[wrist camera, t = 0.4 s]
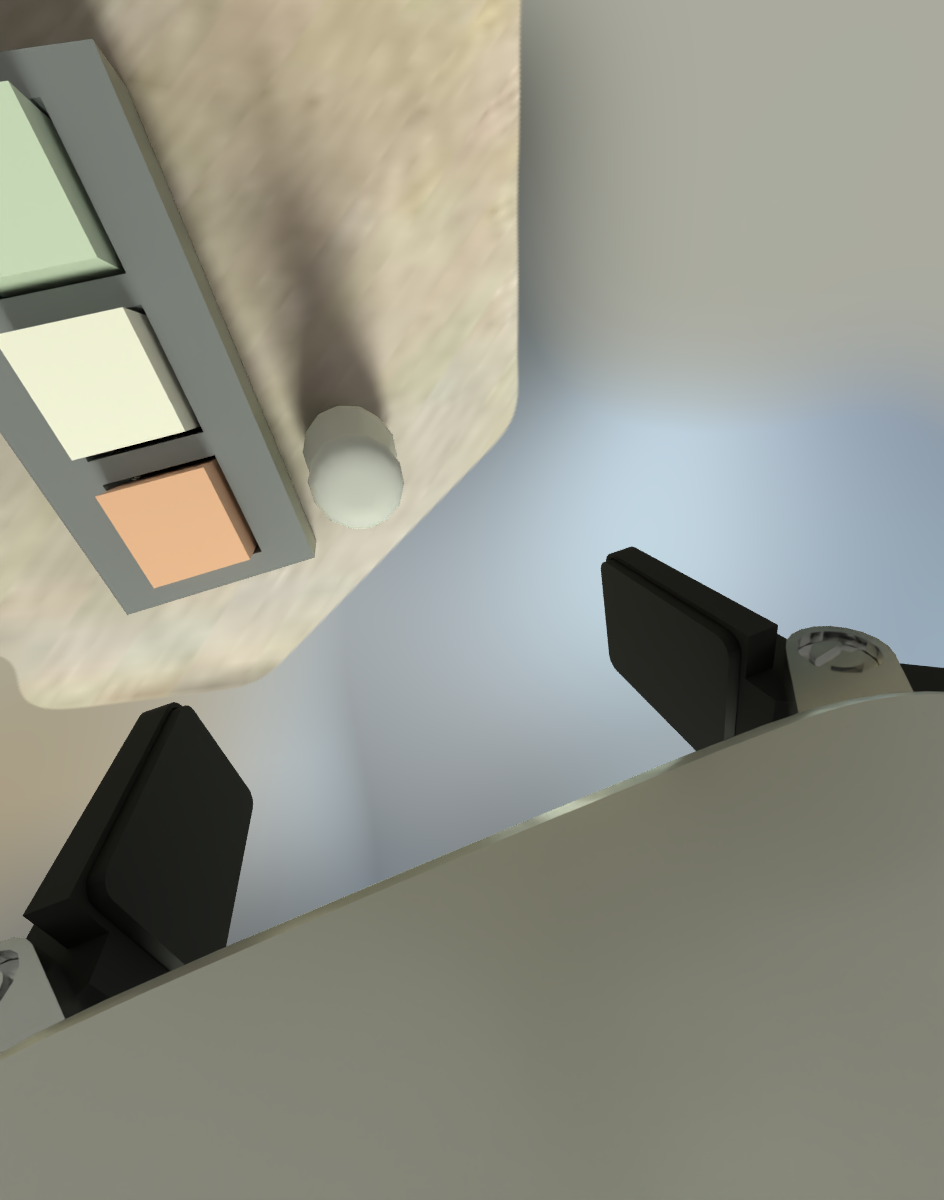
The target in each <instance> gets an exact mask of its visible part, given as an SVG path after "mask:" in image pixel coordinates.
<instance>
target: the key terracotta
mask: <svg viewBox="0 0 944 1200" xmlns="http://www.w3.org/2000/svg"><path fill="white" fill-rule="evenodd" d="M95 497H96V499H97V501H98V502H99V504H100V505H101V507H102V508H103V510H104V511H105V513H106V515H107V516H108V518H109V519H110V521H111V522H112V524H113V525H114V527H115V529H116V530H117V532H118V533H119V535H120V536H121V538H122V539H123V541H124V543H125V544H126V546H127V547H128V549H129V550H130V552H131V554H132V555H133V557H134V558H135V560H136V561H137V563H138V564H139V566H140V568H141V569H142V571H143V572H144V574H145V575H146V577H147V578H148V580H149V582H150V583H151V585H152V586H153V588H157V587H160V586H164V585H167V584H170V583H174V582H177V581H180V580H184V579H187V578H190V577H194V576H197V575H200V574H204V573H207V572H210V571H214V570H217V569H220V568H223V567H227V566H230V565H233V564H237V563H240V562H243V561H247V560H250V559H251V556H252V554H253V552H254V550H255V548H256V546H257V544H258V543H257V541H256V539H255V537H254V535H253V533H252V531H251V528H250V526H249V524H248V522H247V520H246V518H245V516H244V514H243V512H242V510H241V508H240V506H239V504H238V502H237V500H236V498H235V496H234V494H233V491H232V489H231V487H230V485H229V483H228V481H227V479H226V477H225V475H224V473H223V471H222V469H221V467H220V465H219V463H218V461H217V459H216V458H215V459H211V460H208V461H204V462H200V463H196V464H193V465H189V466H185V467H181V468H178V469H174V470H170V471H167V472H163V473H159V474H155V475H152V476H148V477H144V478H140V479H137V480H133V481H129V482H126V483H122V484H120V485H118V486H116V487H114V488H112V489H110V490H108V491H106V492H104V493H102V494H100V495H97V496H95Z"/></svg>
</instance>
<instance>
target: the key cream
mask: <svg viewBox="0 0 944 1200" xmlns="http://www.w3.org/2000/svg"><path fill="white" fill-rule="evenodd" d="M0 349H1V351H2V352H3V354H4V355H5V357H6V359H7V360H8V362H9V363H10V365H11V366H12V368H13V370H14V371H15V373H16V374H17V376H18V377H19V379H20V380H21V382H22V384H23V385H24V387H25V388H26V390H27V391H28V393H29V394H30V396H31V398H32V399H33V401H34V402H35V404H36V405H37V407H38V409H39V410H40V412H41V413H42V415H43V416H44V418H45V419H46V421H47V423H48V424H49V426H50V427H51V429H52V430H53V432H54V433H55V435H56V437H57V438H58V440H59V441H60V443H61V444H62V446H63V447H64V449H65V451H66V452H67V454H68V455H69V457H70V458H71V460H72V461H73V460H76V459H80V458H84V457H88V456H92V455H96V454H100V453H104V452H107V451H111V450H115V449H119V448H123V447H127V446H131V445H135V444H138V443H142V442H146V441H150V440H154V439H158V438H162V437H165V436H169V435H173V434H177V433H181V432H185V431H188V430H191V429H194V428H197V427H200V424H199V422H198V420H197V418H196V416H195V413H194V411H193V409H192V407H191V405H190V403H189V401H188V399H187V397H186V395H185V393H184V391H183V389H182V387H181V385H180V383H179V381H178V379H177V376H176V374H175V372H174V370H173V368H172V366H171V364H170V362H169V360H168V358H167V356H166V354H165V352H164V350H163V348H162V346H161V344H160V342H159V340H158V337H157V335H156V333H155V331H154V329H153V327H152V325H151V323H150V321H149V319H148V317H147V316H146V315H144V314H141V313H138V312H135V311H132V310H129V309H126V308H124V307H121V308H116V309H112V310H107V311H102V312H98V313H93V314H89V315H84V316H79V317H75V318H70V319H66V320H61V321H56V322H52V323H47V324H43V325H38V326H34V327H29V328H24V329H20V330H15V331H11V332H6V333H1V334H0Z"/></svg>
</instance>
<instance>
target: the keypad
mask: <svg viewBox="0 0 944 1200" xmlns="http://www.w3.org/2000/svg"><path fill="white" fill-rule="evenodd" d="M2 81H9V82H10V83H11V84H12V85H13V86H14V87H15V88H17V89H18V90H19V91H20V92H21V93H22V94H23V95H24V96H25V97H26V98H27V99H28V100H30V101H31V102H32V103H33V104H34V105H35V106H36V107H37V108H38V109H39V110H40V111H41V112H43V113H44V114H45V115H46V116H47V117H48V118H49V119H50V120H51V121H52V122H53V124H54V126H55V128H56V130H57V132H58V134H59V136H60V138H61V140H62V142H63V144H64V146H65V148H66V151H67V153H68V155H69V157H70V159H71V161H72V163H73V165H74V167H75V169H76V171H77V173H78V175H79V177H80V179H81V181H82V183H83V185H84V188H85V190H86V192H87V194H88V196H89V198H90V200H91V202H92V204H93V206H94V208H95V210H96V212H97V214H98V216H99V218H100V220H101V222H102V224H103V227H104V229H105V231H106V233H107V235H108V237H109V239H110V241H111V243H112V245H113V247H114V249H115V251H116V253H117V255H118V257H119V259H120V261H121V264H122V266H123V268H124V270H125V272H126V274H121V275H116V276H111V277H106V278H102V279H97V280H92V281H87V282H82V283H78V284H73V285H68V286H63V287H58V288H54V289H49V290H44V291H39V292H34V293H30V294H25V295H20V296H15V297H10V298H7V297H3V296H0V334H1V333H6V332H11V331H15V330H20V329H24V328H29V327H34V326H38V325H43V324H47V323H52V322H56V321H61V320H66V319H70V318H75V317H79V316H84V315H89V314H93V313H98V312H102V311H107V310H112V309H116V308H121V307H124V308H126V309H129V310H132V311H135V312H138V313H141V314H144V315H146V316H147V317H148V319H149V321H150V323H151V325H152V327H153V329H154V331H155V333H156V335H157V337H158V340H159V342H160V344H161V346H162V348H163V350H164V352H165V354H166V356H167V358H168V360H169V362H170V364H171V366H172V368H173V370H174V372H175V374H176V376H177V379H178V381H179V383H180V385H181V387H182V389H183V391H184V393H185V395H186V397H187V399H188V401H189V403H190V405H191V407H192V409H193V411H194V413H195V416H196V418H197V420H198V422H199V424H200V426H201V428H202V431H198V432H195V433H191V434H187V435H183V436H179V437H175V438H171V439H168V440H164V441H160V442H156V443H152V444H148V445H144V446H141V447H137V448H133V449H129V450H125V451H121V452H117V453H115V451H114V450H111V451H107V452H104V453H100V454H96V455H92V456H88V457H84V458H80V459H76V460H73V461H72V460H71V458H70V457H69V455H68V454H67V452H66V451H65V449H64V447H63V446H62V444H61V443H60V441H59V440H58V438H57V437H56V435H55V433H54V432H53V430H52V429H51V427H50V426H49V424H48V423H47V421H46V419H45V418H44V416H43V415H42V413H41V412H40V410H39V409H38V407H37V405H36V404H35V402H34V401H33V399H32V398H31V396H30V394H29V393H28V391H27V390H26V388H25V387H24V385H23V384H22V382H21V380H20V379H19V377H18V376H17V374H16V373H15V371H14V370H13V368H12V366H11V365H10V363H9V362H8V360H7V359H6V357H5V355H4V354H3V352H2V351H1V349H0V433H1V434H2V436H3V437H4V438H5V440H6V441H7V443H8V444H9V446H10V447H11V449H12V450H13V451H14V453H15V454H16V456H17V457H18V459H19V460H20V461H21V463H22V464H23V466H24V467H25V469H26V470H27V471H28V473H29V474H30V476H31V477H32V479H33V480H34V482H35V483H36V484H37V486H38V487H39V489H40V490H41V492H42V493H43V494H44V496H45V497H46V499H47V500H48V502H49V503H50V505H51V506H52V507H53V509H54V510H55V512H56V513H57V515H58V516H59V517H60V519H61V520H62V522H63V523H64V525H65V526H66V527H67V529H68V530H69V532H70V533H71V535H72V536H73V538H74V539H75V540H76V542H77V543H78V545H79V546H80V548H81V549H82V550H83V552H84V553H85V555H86V556H87V558H88V559H89V561H90V562H91V563H92V565H93V566H94V568H95V569H96V571H97V572H98V573H99V575H100V576H101V578H102V579H103V581H104V582H105V583H106V585H107V586H108V588H109V589H110V591H111V592H112V594H113V595H114V596H115V598H116V599H117V601H118V602H119V604H120V605H121V606H122V608H123V609H124V611H125V612H126V614H127V615H128V614H132V613H135V612H138V611H142V610H145V609H148V608H151V607H155V606H158V605H161V604H164V603H168V602H171V601H174V600H177V599H181V598H184V597H187V596H190V595H194V594H197V593H200V592H203V591H207V590H210V589H213V588H217V587H220V586H223V585H226V584H230V583H233V582H236V581H239V580H243V579H246V578H249V577H252V576H256V575H259V574H262V573H265V572H269V571H272V570H275V569H278V568H282V567H285V566H288V565H292V564H295V563H298V562H301V561H305V560H308V559H311V558H314V557H315V548H316V539H315V537H314V534H313V532H312V530H311V527H310V525H309V522H308V520H307V518H306V515H305V513H304V511H303V508H302V506H301V503H300V501H299V499H298V496H297V494H296V491H295V489H294V487H293V484H292V482H291V479H290V477H289V475H288V472H287V470H286V467H285V465H284V463H283V460H282V458H281V455H280V453H279V451H278V448H277V446H276V443H275V441H274V439H273V436H272V434H271V432H270V429H269V427H268V424H267V422H266V420H265V417H264V415H263V412H262V410H261V408H260V405H259V403H258V400H257V398H256V396H255V393H254V391H253V388H252V386H251V384H250V381H249V379H248V376H247V374H246V372H245V369H244V367H243V364H242V362H241V360H240V357H239V355H238V353H237V350H236V348H235V345H234V343H233V341H232V338H231V336H230V333H229V331H228V329H227V326H226V324H225V321H224V319H223V317H222V314H221V312H220V309H219V307H218V305H217V302H216V300H215V297H214V295H213V293H212V290H211V288H210V285H209V283H208V281H207V278H206V276H205V274H204V271H203V269H202V266H201V264H200V262H199V259H198V257H197V254H196V252H195V250H194V247H193V245H192V242H191V240H190V238H189V235H188V233H187V230H186V228H185V226H184V223H183V221H182V218H181V216H180V214H179V211H178V209H177V206H176V204H175V202H174V199H173V197H172V195H171V192H170V190H169V187H168V185H167V183H166V180H165V178H164V175H163V173H162V171H161V168H160V166H159V163H158V161H157V159H156V156H155V154H154V151H153V149H152V147H151V144H150V142H149V139H148V137H147V135H146V132H145V130H144V127H143V125H142V123H141V120H140V118H139V116H138V113H137V111H136V108H135V106H134V104H133V101H132V99H131V96H130V94H129V92H128V89H127V87H126V86H125V84H124V83H123V81H122V80H121V79H120V77H119V76H118V74H117V73H116V72H115V70H114V69H113V67H112V66H111V64H110V63H109V62H108V60H107V59H106V57H105V56H104V54H103V53H102V52H101V50H100V49H99V47H98V46H97V45H96V43H95V42H94V40H93V39H87V40H80V41H72V42H65V43H58V44H51V45H44V46H37V47H29V48H22V49H15V50H8V51H1V52H0V82H2ZM213 455H215V457H216V459H217V461H218V463H219V465H220V467H221V469H222V471H223V473H224V475H225V477H226V479H227V481H228V483H229V485H230V487H231V489H232V491H233V494H234V496H235V498H236V500H237V502H238V504H239V506H240V508H241V510H242V512H243V514H244V516H245V518H246V520H247V522H248V524H249V526H250V528H251V531H252V533H253V535H254V537H255V539H256V541H257V543H258V544H257V546H256V548H255V550H254V552H253V554H252V556H251V559H250V560H247V561H243V562H240V563H237V564H233V565H230V566H227V567H223V568H220V569H217V570H214V571H210V572H207V573H204V574H200V575H197V576H194V577H190V578H187V579H184V580H180V581H177V582H174V583H170V584H167V585H164V586H160V587H157V588H153V586H152V585H151V583H150V582H149V580H148V578H147V577H146V575H145V574H144V572H143V571H142V569H141V568H140V566H139V564H138V563H137V561H136V560H135V558H134V557H133V555H132V554H131V552H130V550H129V549H128V547H127V546H126V544H125V543H124V541H123V539H122V538H121V536H120V535H119V533H118V532H117V530H116V529H115V527H114V525H113V524H112V522H111V521H110V519H109V518H108V516H107V515H106V513H105V511H104V510H103V508H102V507H101V505H100V504H99V502H98V501H97V499H96V497H95V496H97V495H100V494H102V493H104V492H106V491H108V490H110V489H112V488H114V487H116V486H118V485H120V484H122V483H126V482H129V481H132V480H131V477H135V476H139V475H142V474H146V473H150V472H154V471H157V470H161V469H165V468H168V467H172V466H176V465H180V464H183V463H187V462H191V461H195V460H198V459H202V458H206V457H210V456H213Z"/></svg>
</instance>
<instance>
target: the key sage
mask: <svg viewBox="0 0 944 1200" xmlns="http://www.w3.org/2000/svg"><path fill="white" fill-rule="evenodd" d="M121 274H126V272H125V270H124V268H123V266H122V264H121V261H120V259H119V257H118V255H117V253H116V251H115V249H114V247H113V245H112V243H111V241H110V239H109V237H108V235H107V233H106V231H105V229H104V227H103V224H102V222H101V220H100V218H99V216H98V214H97V212H96V210H95V208H94V206H93V204H92V202H91V200H90V198H89V196H88V194H87V192H86V190H85V188H84V185H83V183H82V181H81V179H80V177H79V175H78V173H77V171H76V169H75V167H74V165H73V163H72V161H71V159H70V157H69V155H68V153H67V151H66V148H65V146H64V144H63V142H62V140H61V138H60V136H59V134H58V132H57V130H56V128H55V126H54V124H53V122H52V121H51V120H50V119H49V118H48V117H47V116H46V115H45V114H44V113H43V112H41V111H40V110H39V109H38V108H37V107H36V106H35V105H34V104H33V103H32V102H31V101H30V100H28V99H27V98H26V97H25V96H24V95H23V94H22V93H21V92H20V91H19V90H18V89H17V88H15V87H14V86H13V85H12V84H11V83H10V82H9V81H2V82H0V296H3V297H7V298H10V297H15V296H20V295H25V294H30V293H34V292H39V291H44V290H49V289H54V288H58V287H63V286H68V285H73V284H78V283H82V282H87V281H92V280H97V279H102V278H106V277H111V276H116V275H121Z"/></svg>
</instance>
